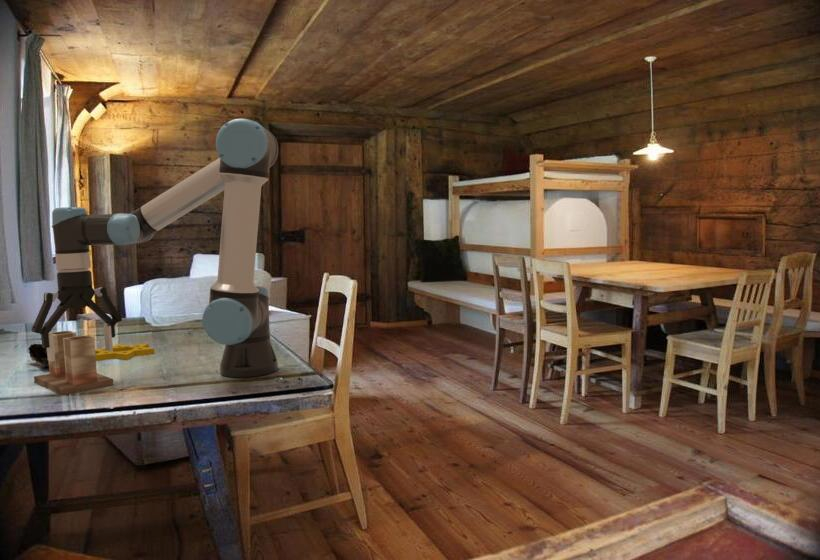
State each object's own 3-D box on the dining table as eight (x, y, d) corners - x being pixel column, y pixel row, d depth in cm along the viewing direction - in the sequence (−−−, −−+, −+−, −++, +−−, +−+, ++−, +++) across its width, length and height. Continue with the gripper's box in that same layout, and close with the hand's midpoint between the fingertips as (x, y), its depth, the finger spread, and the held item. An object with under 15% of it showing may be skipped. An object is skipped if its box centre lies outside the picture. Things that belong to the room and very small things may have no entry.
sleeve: (88, 377, 162) (85, 335, 161) (97, 380, 159) (94, 337, 158) (66, 381, 158) (63, 338, 157) (74, 385, 155) (71, 340, 154)
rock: (44, 385, 177) (101, 369, 186) (38, 353, 174) (96, 338, 183) (29, 363, 190) (83, 349, 199) (23, 334, 187) (78, 321, 196)
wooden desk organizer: (113, 384, 160) (110, 335, 159) (62, 395, 152) (58, 343, 150) (83, 373, 174) (79, 328, 173) (34, 382, 165) (30, 334, 164)
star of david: (157, 357, 194) (157, 350, 194) (95, 365, 185) (94, 358, 185) (146, 347, 211) (145, 341, 211) (87, 354, 202) (87, 347, 202)
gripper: (119, 266, 168) (125, 345, 170) (11, 274, 149) (19, 363, 151) (131, 266, 163) (137, 348, 164) (21, 275, 144) (30, 367, 146)
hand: (81, 355), depth 158 cm, fingers open, 13 cm apart
